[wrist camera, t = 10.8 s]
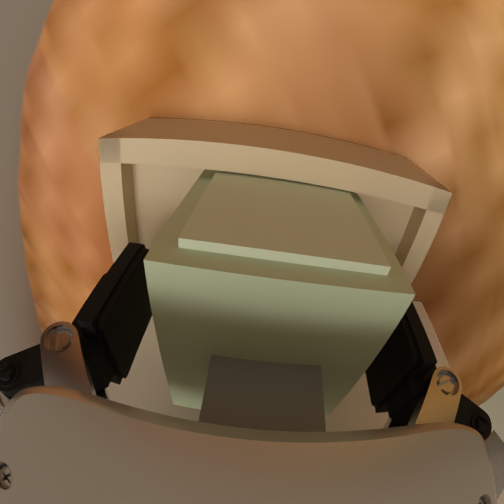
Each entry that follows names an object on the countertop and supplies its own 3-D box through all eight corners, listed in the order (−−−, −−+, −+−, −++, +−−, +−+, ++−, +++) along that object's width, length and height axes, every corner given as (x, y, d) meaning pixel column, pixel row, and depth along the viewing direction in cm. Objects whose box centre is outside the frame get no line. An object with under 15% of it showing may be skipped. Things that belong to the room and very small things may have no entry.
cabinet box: (357, 186, 10) (460, 374, 3) (315, 315, 14) (327, 473, 8) (205, 163, 10) (87, 342, 3) (201, 301, 14) (160, 458, 7)
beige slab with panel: (476, 184, 13) (618, 347, 2) (410, 319, 20) (456, 479, 8) (117, 118, 13) (-116, 271, 1) (133, 284, 20) (54, 458, 8)
